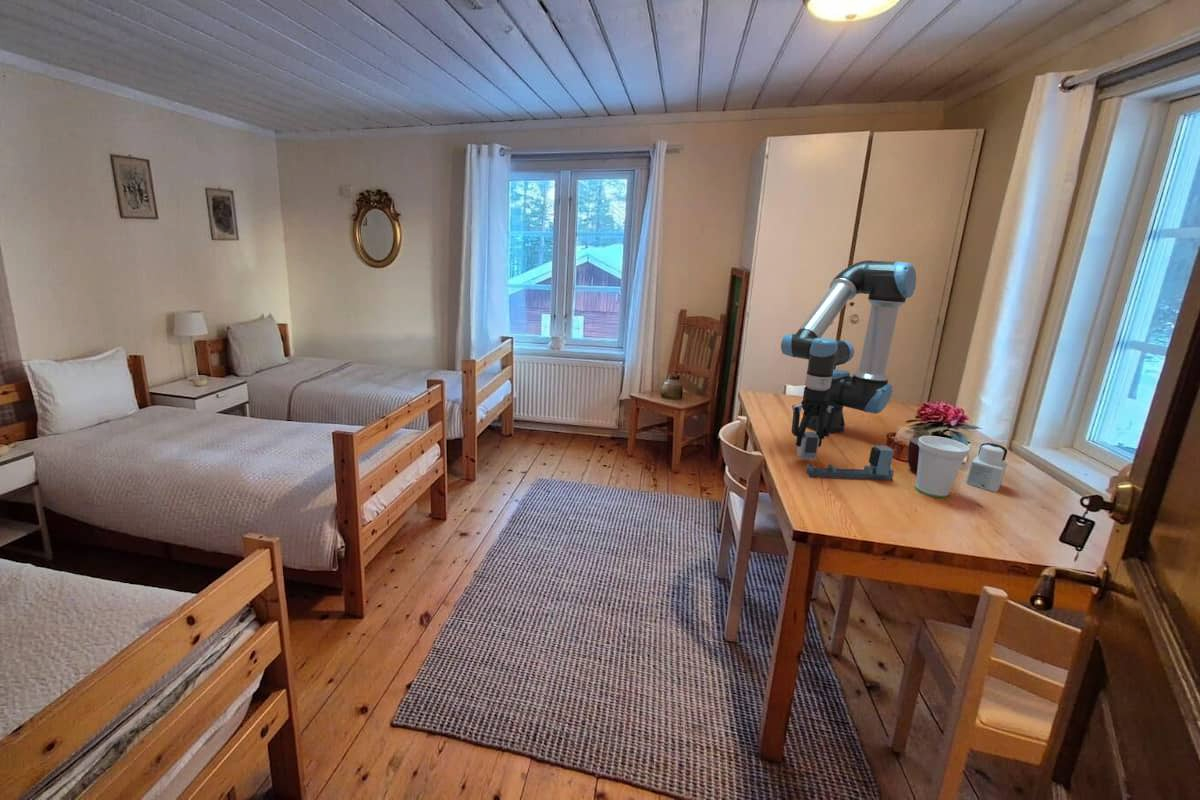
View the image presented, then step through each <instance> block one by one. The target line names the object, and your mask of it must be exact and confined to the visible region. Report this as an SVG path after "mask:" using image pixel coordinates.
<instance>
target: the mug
mask: <svg viewBox="0 0 1200 800" xmlns="http://www.w3.org/2000/svg"><path fill="white" fill-rule="evenodd" d="M919 438H920V437H913V438H911V439H910V440H909V443H908V449H907V463H908V466H909V469H910V471H911V472H912V473H915V474H917V468H918V458H919V446H918V440H919Z"/></svg>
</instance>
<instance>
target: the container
mask: <svg viewBox="0 0 1200 800" xmlns="http://www.w3.org/2000/svg"><path fill="white" fill-rule="evenodd" d="M1007 453H1008V449H1007V448H1006V447H1004V446H1003V445H1000V444H997V443H991V442H986V443H982V444H980V447H979V450H978V454H977V455H976V456H975V457H974V458H973V460H972V461H971V465H970V467H969V468H970V469H969V471H968V475H967V480H966V484H967V485H970V486H973V487H977V488H980V489H984V490H986V491H990V492H994V493H997V492H998V491H999V489H1000V487H1002V484H1003V480H1004V476H1005V473H1006V470H1007V466H1008V462H1007V461H1005V460H1006V457H1007Z"/></svg>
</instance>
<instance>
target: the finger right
mask: <svg viewBox="0 0 1200 800" xmlns="http://www.w3.org/2000/svg"><path fill="white" fill-rule="evenodd" d="M803 437H804V438H805V441H804V448H803V454H802V457H801V459H803V460H815V459H816V457H815V455H816V449H817V443H818V437H819V436H818V435H817V434H816V432H815V431H805V432H804V435H803Z"/></svg>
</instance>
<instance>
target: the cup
mask: <svg viewBox="0 0 1200 800" xmlns="http://www.w3.org/2000/svg"><path fill="white" fill-rule="evenodd" d="M918 438H919V440H918V446H919V458H918V468H917V473H916V479H915V486H914V488H915V489H916V490H917V492H919V493H920V494H923V495H925V496H929V497H932V498H941V499H942V498H947V497H949V495H950V492H951V490H952V487H953V485H954V483H955V481H956V478H957V476H958V474H959V471H960V469H961V467H962V464H963V462H964V460H965V458H966V457H967V456H969V453H970V447H969V446H968V445H966V444H965V443H963V442H961V441H958V440H955V439H952V438H949V437H942V436H936V435H922V436H920V437H918Z"/></svg>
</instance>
